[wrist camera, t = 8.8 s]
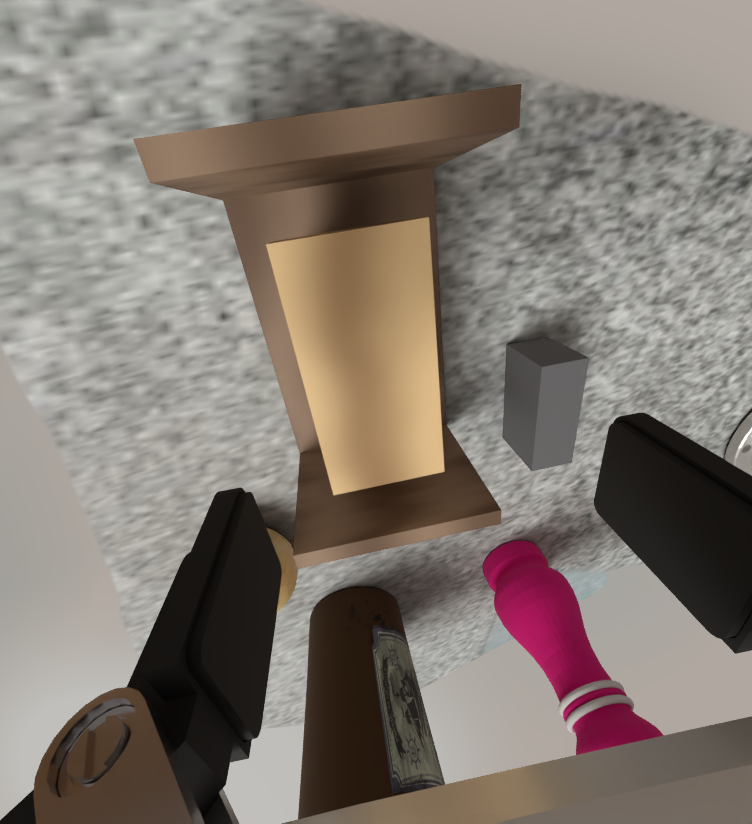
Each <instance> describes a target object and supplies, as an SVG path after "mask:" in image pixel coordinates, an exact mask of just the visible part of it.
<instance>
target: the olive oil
mask: <svg viewBox="0 0 752 824" xmlns="http://www.w3.org/2000/svg"><path fill="white" fill-rule="evenodd" d="M441 785H445V782H444V778H443V775H442V771H441V767H440V764H439V760H438V756H437V753H436V749H435V745H434V742H433V738H432V734H431V731H430V727H429V723H428V719H427V716H426V712H425V708H424V704H423V701H422V697H421V693H420V689H419V685H418V681H417V677H416V673H415V670H414V666H413V662H412V658H411V654H410V650H409V646H408V642H407V639H406V635H405V631H404V626H403V622H402V618H401V614H400V610H399V607H398V604H397V602H396V600H395V599H394V598H393V597H392V596H391V595H390V594H389V593H387V592H385V591H383V590H380V589H376V588H371V587H355V588H349V589H345V590H341V591H338V592H336V593H334V594H332V595H330V596H328V597H326V598H325V599H323V600H322V601H321V602H320V603H319V604H318V605H317V606H316V607H315V609H314V610H313V612H312V614H311V618H310V630H309V653H308V675H307V692H306V708H305V724H304V740H303V756H302V770H301V785H300V799H299V814H298V819H302V818H306V817H310V816H314V815H318V814H322V813H326V812H330V811H334V810H338V809H342V808H346V807H350V806H354V805H358V804H362V803H367V802H371V801H376V800H380V799H384V798H389V797H393V796H398V795H402V794H406V793H411V792H415V791H420V790H424V789H428V788H433V787H437V786H441Z"/></svg>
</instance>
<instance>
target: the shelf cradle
mask: <svg viewBox="0 0 752 824" xmlns="http://www.w3.org/2000/svg"><path fill="white" fill-rule="evenodd" d="M520 99H521V84H518V85H511V86H504V87H497V88H490V89H482V90H475V91H468V92H461V93H454V94H447V95H440V96H433V97H426V98H419V99H412V100H405V101H398V102H391V103H384V104H377V105H370V106H363V107H356V108H349V109H342V110H335V111H328V112H321V113H314V114H306V115H299V116H292V117H285V118H278V119H271V120H264V121H257V122H250V123H243V124H236V125H229V126H222V127H215V128H208V129H201V130H194V131H187V132H180V133H173V134H166V135H159V136H152V137H145V138H138V139H133V140H134V142H135V145H136V148H137V150H138V153H139V155H140V158H141V161H142V163H143V166H144V168H145V171H146V174H147V176H148V179H149V181H150V183H153V184H157V185H162V186H166V187H170V188H174V189H178V190H182V191H187V192H191V193H195V194H199V195H203V196H207V197H212V198H216V199H220V200H223V202H224V205H225V208H226V211H227V215H228V218H229V221H230V225H231V228H232V231H233V234H234V238H235V241H236V244H237V248H238V251H239V254H240V257H241V261H242V264H243V267H244V271H245V274H246V277H247V281H248V284H249V287H250V290H251V294H252V297H253V300H254V304H255V307H256V310H257V313H258V317H259V320H260V323H261V327H262V330H263V333H264V337H265V340H266V343H267V346H268V350H269V353H270V356H271V360H272V363H273V366H274V369H275V373H276V376H277V379H278V383H279V386H280V389H281V393H282V396H283V399H284V402H285V406H286V409H287V412H288V416H289V419H290V422H291V425H292V429H293V432H294V435H295V439H296V442H297V445H298V449H299V452H300V464H299V478H298V492H297V506H296V520H295V534H294V548H293V557H294V560H295V563H296V565H297V568H298V569H299V568H303V567H308V566H312V565H317V564H321V563H326V562H330V561H335V560H339V559H344V558H348V557H353V556H357V555H362V554H366V553H371V552H375V551H380V550H384V549H389V548H393V547H398V546H402V545H407V544H411V543H416V542H420V541H425V540H429V539H434V538H438V537H443V536H447V535H452V534H456V533H461V532H465V531H470V530H474V529H479V528H483V527H488V526H492V525H497V524H501V509H500V507H499V506H498V504H497V503H496V501H495V500H494V498H493V497H492V495H491V493H490V492H489V490H488V489H487V487H486V486H485V484H484V483H483V481H482V479H481V478H480V476H479V475H478V473H477V472H476V470H475V469H474V467H473V465H472V464H471V462H470V461H469V459H468V458H467V456H466V455H465V453H464V451H463V450H462V448H461V447H460V445H459V444H458V442H457V441H456V439H455V437H454V436H453V434H452V433H451V431H450V430H449V428H448V427H447V425H446V410H445V390H444V370H443V350H442V330H441V310H440V290H439V270H438V249H437V229H436V209H435V189H434V169H433V168H434V167H436V166H438V165H440V164H442V163H444V162H447V161H449V160H451V159H453V158H455V157H457V156H459V155H461V154H464V153H466V152H468V151H470V150H472V149H474V148H476V147H478V146H481V145H483V144H485V143H487V142H489V141H491V140H493V139H495V138H498V137H500V136H502V135H504V134H506V133H508V132H510V131H512V130H515V129H517V128H519V121H520ZM421 217H429V224H430V241H431V257H432V274H433V290H434V306H435V323H436V339H437V356H438V372H439V389H440V405H441V421H442V438H443V454H444V471H445V472H441V473H436V474H432V475H427V476H422V477H418V478H413V479H408V480H404V481H399V482H394V483H390V484H385V485H380V486H375V487H371V488H366V489H361V490H357V491H352V492H347V493H343V494H338V495H333V491H332V488H331V484H330V480H329V477H328V473H327V469H326V465H325V462H324V458H323V454H322V451H321V447H320V443H319V439H318V436H317V432H316V428H315V425H314V421H313V417H312V414H311V410H310V406H309V402H308V399H307V395H306V391H305V388H304V384H303V380H302V376H301V373H300V369H299V365H298V362H297V358H296V354H295V350H294V347H293V343H292V339H291V336H290V332H289V328H288V324H287V321H286V317H285V313H284V310H283V306H282V302H281V298H280V295H279V291H278V287H277V284H276V280H275V276H274V273H273V269H272V265H271V261H270V258H269V254H268V250H267V247H266V244H268V243H270V242H273V241H278V240H284V239H290V238H296V237H302V236H308V235H314V234H320V233H326V232H332V231H338V230H344V229H350V228H356V227H362V226H368V225H374V224H380V223H386V222H392V221H398V220H404V219H410V218H421Z"/></svg>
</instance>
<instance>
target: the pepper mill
mask: <svg viewBox="0 0 752 824" xmlns="http://www.w3.org/2000/svg"><path fill="white" fill-rule="evenodd" d="M483 573H484V575H485V577H486V580H487V582H488V584H489V586H490V588H491V589H492V590H493V591H494V592H495V597H494V606H495V610H496V612H497V614H498V616H499V618H500V620H501V621H502V623H503V625H504V626H505V628H506V629H507V630H508V632H509V633H510V634H511V635H512V636H513V637H514V638H515V639H516V640H517V641H518V642H519V643H520V644H521V645H522V646H523V647H524V648H525V649H526V650H527V651H528V652H529V653H530V654H531V656H533V658H534V659H535V660H536V661H537V663H538V664H539V665H540V667H541V668H542V669H543V671H544V672H545V674H546V676H547V677H548V679H549V681H550V682H551V684H552V686H553V687H554V690H555V692H556V694H557V697H558V699H559V701H560V704H559V708H558V710H559V713H560V715H561V716H562V717H563V718H564V720H565V722H566V727H567V729H568V731H570V732H571V733H573V734H575V735H576V736H577V746H576V755H579V754H583V753H588V752H592V751H597V750H601V749H606V748H610V747H615V746H619V745H624V744H628V743H633V742H638V741H642V740H647V739H651V738H656V737H660V736H664V735H663V734H662V733H661V732H660V731H659V730H658V729H657V728H656V727H655V726H654V725H652V724H651V723H649V722H648V721H646V720H644V719H643V718H641V717H639V716H638V715H636V714H635V713H634V712H633V708H634V704H633V701H632V700H631V699H630V698H629V697H627V695H626V693H625V692H624V688H623V686H622V685H621V684H620V683H618V682H616V681H612V680H611V678H610V677H609V676H608V674H607V673H606V671H605V670H604V669H603V667H602V666H601V664H600V662H599V661H598V659H597V657H596V655H595V653H594V651H593V650H592V648H591V645H590V643H589V640H588V638H587V635H586V632H585V628H584V625H583V620H582V616H581V612H580V608H579V604H578V601H577V599H576V596H575V594H574V591H573V589H572V588H571V586H570V584H569V583H568V581H567V579H566V578H565V577H564V576H563V575H562V574H561V573H559V572H558V571H556V570H554V569H552V568H549V567H548V562H547V560H546V558H545V557H544V555H543V554H542V552H541V551H540V549H539V548H538V547H537V546H536V545H535V544H534V543H531V542H528V541H512V542H508V543H506V544H503V545H501V546H499V547H498V548H496V549H495V550H494V551H492V552H491V553H490V554H489V556H488V557H487V558H486V560H485V562H484V564H483Z"/></svg>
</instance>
